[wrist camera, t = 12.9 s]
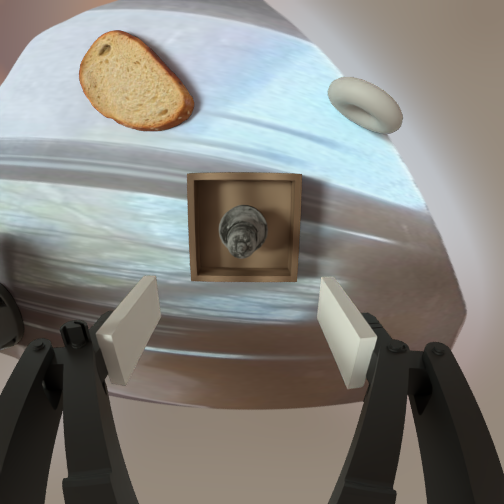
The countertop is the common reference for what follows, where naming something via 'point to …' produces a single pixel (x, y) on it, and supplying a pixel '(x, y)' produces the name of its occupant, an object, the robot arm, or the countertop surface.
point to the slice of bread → (133, 84)
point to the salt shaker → (243, 230)
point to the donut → (365, 104)
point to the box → (267, 203)
